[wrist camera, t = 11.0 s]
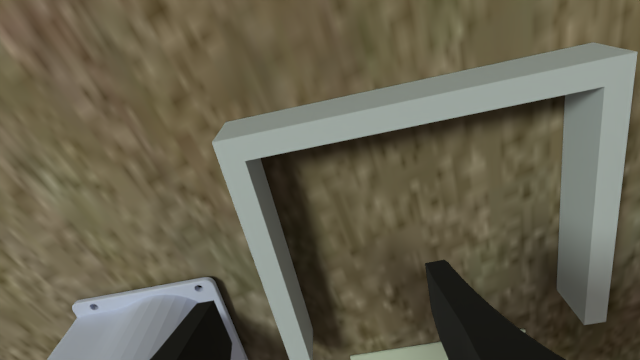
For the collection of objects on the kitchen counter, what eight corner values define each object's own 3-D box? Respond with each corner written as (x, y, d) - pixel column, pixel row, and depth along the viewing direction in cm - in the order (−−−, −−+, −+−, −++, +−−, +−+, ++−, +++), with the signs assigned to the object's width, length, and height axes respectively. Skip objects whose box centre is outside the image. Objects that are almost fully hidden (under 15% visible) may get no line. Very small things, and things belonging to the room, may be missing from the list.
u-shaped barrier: (295, 332, 27) (293, 370, 25) (225, 122, 21) (211, 142, 18) (575, 286, 26) (606, 321, 23) (592, 42, 19) (637, 52, 17)
